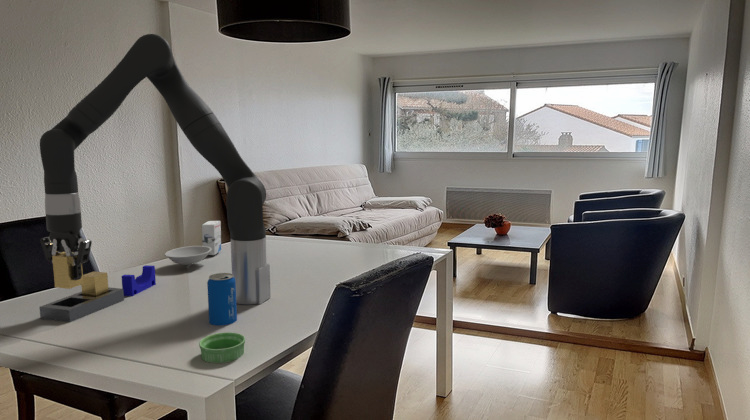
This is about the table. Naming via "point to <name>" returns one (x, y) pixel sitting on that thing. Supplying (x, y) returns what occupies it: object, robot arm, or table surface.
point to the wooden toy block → (64, 272)
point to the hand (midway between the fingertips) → (68, 278)
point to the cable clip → (139, 281)
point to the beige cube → (95, 284)
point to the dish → (188, 254)
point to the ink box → (212, 236)
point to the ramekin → (222, 340)
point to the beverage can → (222, 299)
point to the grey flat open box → (79, 305)
